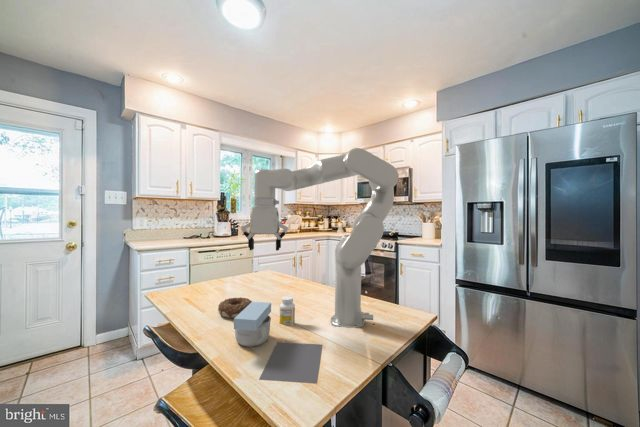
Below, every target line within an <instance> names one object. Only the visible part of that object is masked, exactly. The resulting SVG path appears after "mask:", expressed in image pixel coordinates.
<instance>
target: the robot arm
mask: <svg viewBox="0 0 640 427" xmlns="http://www.w3.org/2000/svg"><path fill="white" fill-rule="evenodd" d="M355 176H360V177H362V178H363V179H365V180H367V181H368V184H369V186H370V188H371V196H370V199H369V200H368V201H367V203H366V205H365V206H364V207H363V209H362V211H361V212H360V213H359V215H358V216H357V217H356V218H355V219H354V221H353V225H352V230H351V232H350V233H349V234H348V236H347V237H344V238H341V239H340V240H339V241H337V244H336V245H335V250H334V260H335V262H334V264H335V265H334V266H335V278H334V279H335V280H334V281H335V282H334V283H335V284H334V288H335V289H334V290H335V292H334V300H335V301H334V314H333V315H332V316H330V317H331V318H330V323H331V325H333V327H335V328H336V327H339V328H347V329H348V328H350V329H351V328H355V329H356V328H357V329H360V328H363V327H364V326H365V323H366V322H365V321H366V320H367V321H374V314H370V312H364V311H362V306H361V304H362V303H361V302H362V299H361V298H362V265H363V264H364V263H365V262H366V261H367V259H368V258H369V256H370V255H371V254H372V253H373V251H374V249H375V248H376V247H377V245H378V244H379V243H380V241H381V239H382V237H383V235H384V231H385V225H384V221H385V219H386V218H387V216H388V214H389V213H390V211H391V210H392V208H393V205H394V201H395V192H394V187H395V186H396V185H397V183H398V181H399V171H398V169H397V168H396V167H395V166H394V165H392V164H391V163H389V162H388V161H387V160H384V159H383V158H380V157H379V156H376V155H375V154H374V153H371V152H370V151H368V150H366V149H364V148H360V147H355V148H352V149H350V150H349V151H347V153H344V154H340V155H336V156H331V157H327V158H323V159H319V160H317V161H316V162H314V163H313V164H311V165H310V166H307V167H304V168H301V169H297V170H291V169H288V168H277V169H267V168H266V169H265V168H263V169H260V168H259V169H257V170H255V172H254V184H253V185H254V190H253V191H254V193H253V194H254V202H253V203H254V204H253V207H252V209H251V215H250V220H249V221H250V222H248V223H247V224H245V225H243V226H241V227H240V229H241V231H242V233H243V235H244V236H245V237H246V238H247V240H248V241H247V244H248V246H247V247H248V249H249V251H253V250H254V249H255V239H254V236H255V235H274V236H275V237H276V239H275V251H279V250H280V249H282V248H281V247H282V244H281V243H282V239H283V237H284V236H286V235H287V234H286V233H288V230H289V227H288V226H287V225H284V224H282V223H281V222H280V214H279V209H278V207H277V205H280V200H277V199H276V189H279V190H282V191H285V192H291V191H296V190H301V189H305V188H308V187H313V186H315V185H316V186H317V185H322V184H324V183H330V182H332V181H333V182H334V181H337V180H341V179H346V178H347V179H348V178H351V177H355ZM248 228H249V231H250V233H249V232H248V230H247V229H248ZM280 228H281V229H283V231H282V232H281V233H280Z"/></svg>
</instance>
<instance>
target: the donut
mask: <svg viewBox="0 0 640 427" xmlns="http://www.w3.org/2000/svg"><path fill="white" fill-rule="evenodd" d="M251 302H253V301H252V300H251V299H250V298H246V297H229V298H226V299H225V300H223V301H220V302H219V304H218V309H217V311H218V314H219V315H221V316H222V317H224V318H226V319H228V318H229V319H234V318H235V317H236V316H237V315H238V314H239V313H241V312H242V311H243V310H244V309H245V308H246V307H247V306H248V305H249V304H250V303H251Z"/></svg>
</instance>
